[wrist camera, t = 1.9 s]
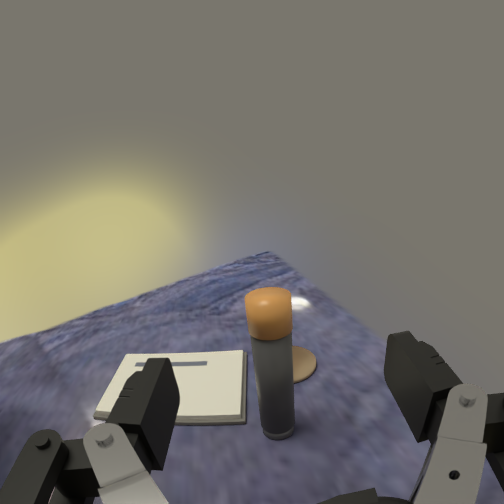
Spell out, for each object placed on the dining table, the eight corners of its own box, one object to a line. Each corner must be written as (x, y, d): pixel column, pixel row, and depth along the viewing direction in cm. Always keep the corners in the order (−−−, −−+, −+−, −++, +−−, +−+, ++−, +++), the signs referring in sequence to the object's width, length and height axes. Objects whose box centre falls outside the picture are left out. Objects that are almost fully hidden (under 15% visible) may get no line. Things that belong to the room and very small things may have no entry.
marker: (261, 443, 25) (244, 308, 21) (260, 418, 28) (245, 289, 24) (297, 439, 25) (293, 304, 21) (294, 415, 28) (288, 285, 24)
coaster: (255, 387, 33) (255, 383, 32) (254, 351, 39) (254, 348, 39) (320, 380, 32) (320, 376, 32) (310, 346, 39) (310, 342, 39)
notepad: (94, 418, 28) (90, 411, 27) (126, 358, 39) (124, 351, 39) (245, 423, 27) (244, 416, 27) (246, 354, 39) (246, 347, 39)
